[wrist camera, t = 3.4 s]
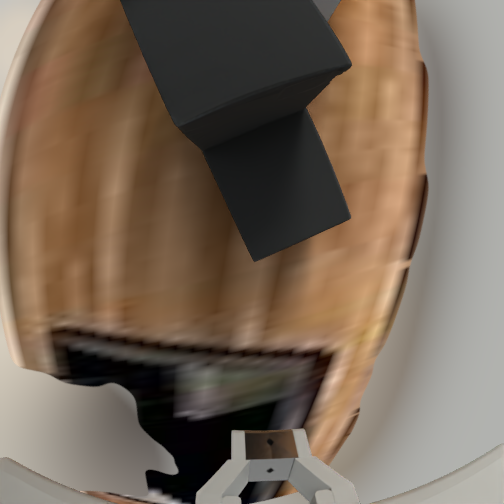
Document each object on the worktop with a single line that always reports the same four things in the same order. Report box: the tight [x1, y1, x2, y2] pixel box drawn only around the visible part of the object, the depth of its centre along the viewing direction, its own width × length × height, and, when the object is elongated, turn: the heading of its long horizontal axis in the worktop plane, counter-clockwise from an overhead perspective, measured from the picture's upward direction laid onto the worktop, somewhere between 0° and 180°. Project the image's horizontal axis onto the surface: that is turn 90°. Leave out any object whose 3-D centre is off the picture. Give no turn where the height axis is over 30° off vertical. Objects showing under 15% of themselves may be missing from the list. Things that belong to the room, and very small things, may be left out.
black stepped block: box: [120, 0, 352, 262], centre depth 20 cm, size 23×11×24 cm, turn 24°
